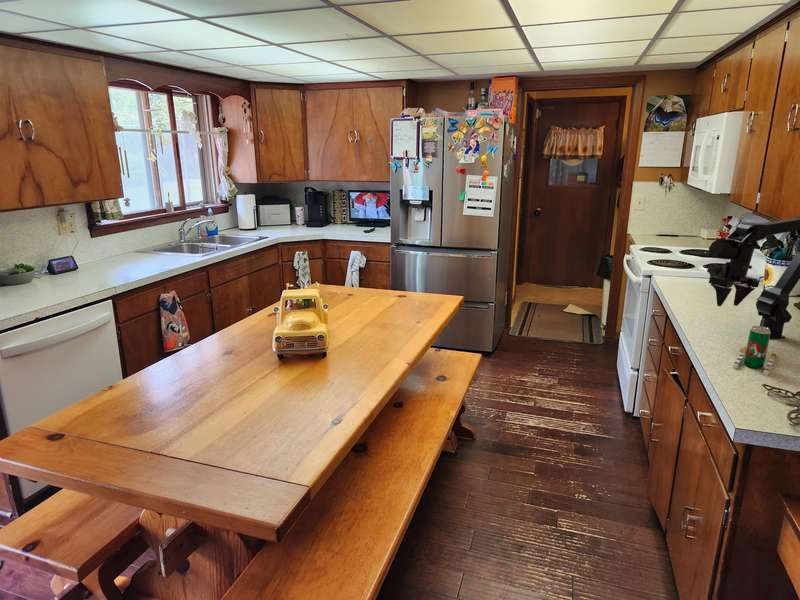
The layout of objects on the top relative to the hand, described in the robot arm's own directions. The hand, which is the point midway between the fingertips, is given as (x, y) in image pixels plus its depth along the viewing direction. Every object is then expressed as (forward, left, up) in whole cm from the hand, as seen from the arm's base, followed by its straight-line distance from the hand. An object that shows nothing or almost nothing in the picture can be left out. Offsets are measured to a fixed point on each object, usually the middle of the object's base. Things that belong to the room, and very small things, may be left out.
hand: (727, 305), depth 179 cm
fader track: (-22, +5, -11) cm, 25 cm away
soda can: (-25, +8, -12) cm, 28 cm away
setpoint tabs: (-20, +3, -10) cm, 22 cm away
